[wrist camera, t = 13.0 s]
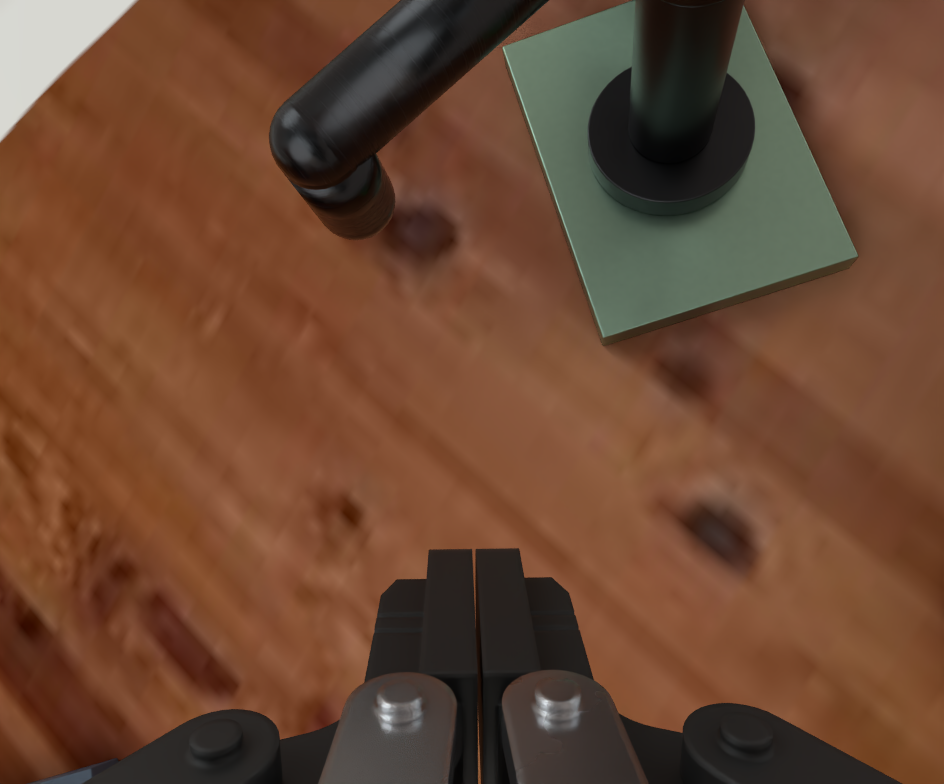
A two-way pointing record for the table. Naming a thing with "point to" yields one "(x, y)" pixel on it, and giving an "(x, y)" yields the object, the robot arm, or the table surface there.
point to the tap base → (673, 163)
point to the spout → (383, 102)
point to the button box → (78, 774)
